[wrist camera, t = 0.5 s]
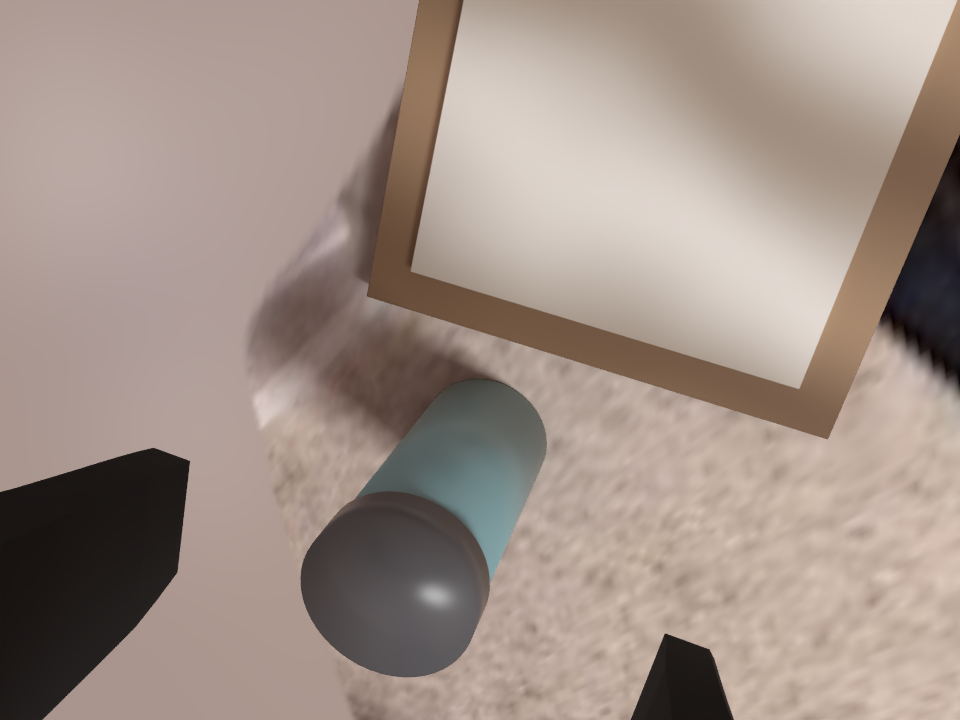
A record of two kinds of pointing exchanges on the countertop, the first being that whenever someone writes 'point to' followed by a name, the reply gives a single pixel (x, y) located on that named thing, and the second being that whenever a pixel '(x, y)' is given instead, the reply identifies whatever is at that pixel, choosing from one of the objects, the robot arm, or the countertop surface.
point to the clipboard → (672, 184)
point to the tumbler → (426, 533)
